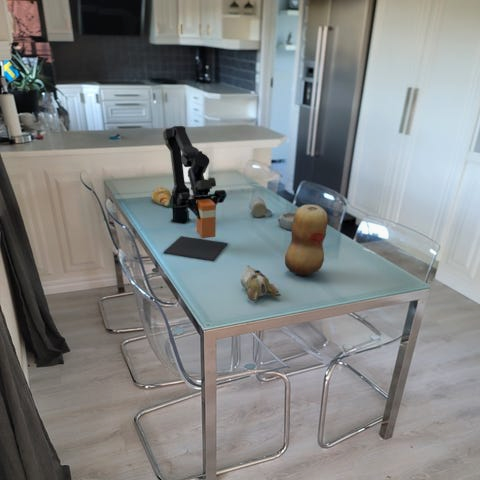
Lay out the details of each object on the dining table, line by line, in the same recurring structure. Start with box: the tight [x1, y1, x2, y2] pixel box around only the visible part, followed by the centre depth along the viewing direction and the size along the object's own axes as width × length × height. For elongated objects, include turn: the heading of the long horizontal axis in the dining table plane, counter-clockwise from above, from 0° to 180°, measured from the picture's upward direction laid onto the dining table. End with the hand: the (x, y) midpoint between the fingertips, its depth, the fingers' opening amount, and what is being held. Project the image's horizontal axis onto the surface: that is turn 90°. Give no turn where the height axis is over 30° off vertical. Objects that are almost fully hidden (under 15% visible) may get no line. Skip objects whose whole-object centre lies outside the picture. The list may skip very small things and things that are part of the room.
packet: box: [196, 199, 217, 239], centre depth 181 cm, size 6×6×13 cm
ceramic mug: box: [248, 196, 273, 218], centre depth 223 cm, size 11×8×8 cm
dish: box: [277, 211, 296, 231], centre depth 213 cm, size 14×14×5 cm
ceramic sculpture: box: [240, 265, 282, 302], centre depth 154 cm, size 11×9×15 cm
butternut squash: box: [284, 204, 329, 277], centre depth 164 cm, size 14×13×25 cm
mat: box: [163, 235, 228, 262], centre depth 187 cm, size 20×18×1 cm
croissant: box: [150, 187, 172, 207], centre depth 235 cm, size 21×10×8 cm, turn 27°
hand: (206, 218), depth 180 cm, fingers closed on packet, 5 cm apart
